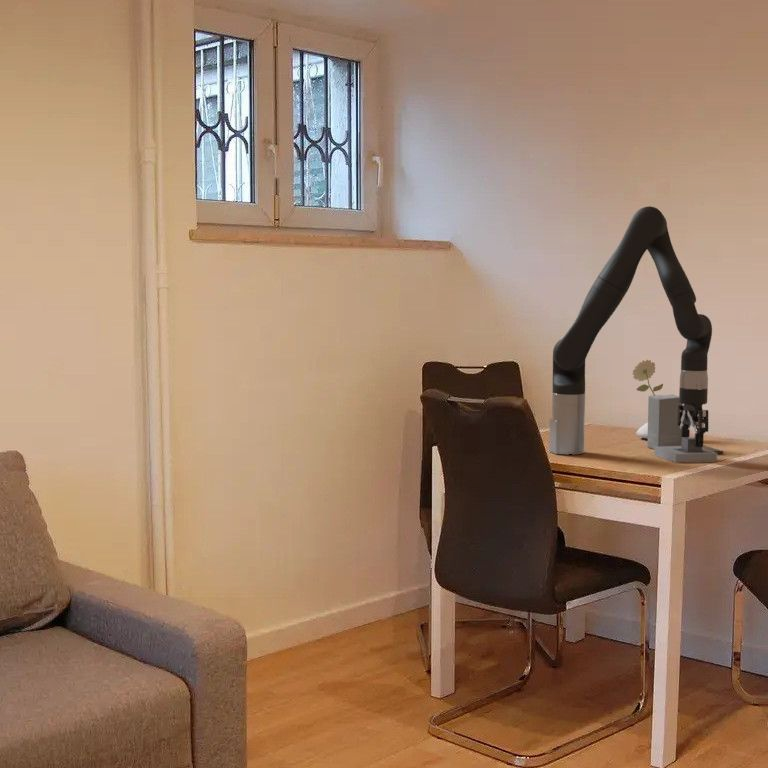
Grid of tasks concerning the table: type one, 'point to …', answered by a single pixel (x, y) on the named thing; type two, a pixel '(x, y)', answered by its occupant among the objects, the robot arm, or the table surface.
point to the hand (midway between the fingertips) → (691, 444)
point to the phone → (712, 449)
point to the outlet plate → (684, 454)
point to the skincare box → (663, 421)
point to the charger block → (689, 445)
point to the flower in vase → (645, 387)
